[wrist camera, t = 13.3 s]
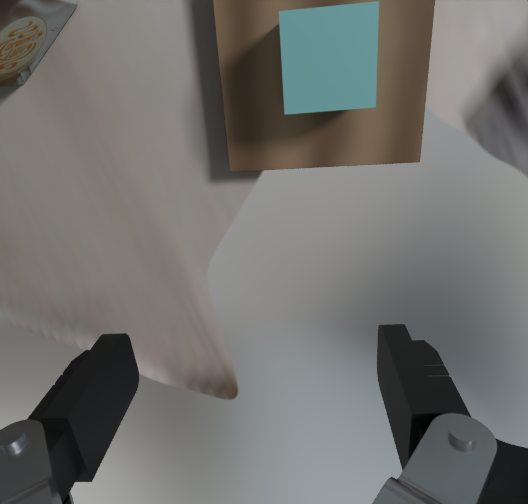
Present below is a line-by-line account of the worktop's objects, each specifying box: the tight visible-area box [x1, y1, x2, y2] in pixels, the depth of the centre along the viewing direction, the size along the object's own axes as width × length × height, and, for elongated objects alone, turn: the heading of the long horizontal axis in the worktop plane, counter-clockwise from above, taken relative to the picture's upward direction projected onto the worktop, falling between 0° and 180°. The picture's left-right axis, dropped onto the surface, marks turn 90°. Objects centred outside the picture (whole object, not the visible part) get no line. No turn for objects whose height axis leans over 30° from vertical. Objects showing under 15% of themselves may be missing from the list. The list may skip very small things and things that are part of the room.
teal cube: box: [279, 1, 379, 115], centre depth 28 cm, size 6×6×6 cm
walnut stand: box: [213, 0, 435, 172], centre depth 32 cm, size 16×16×3 cm
